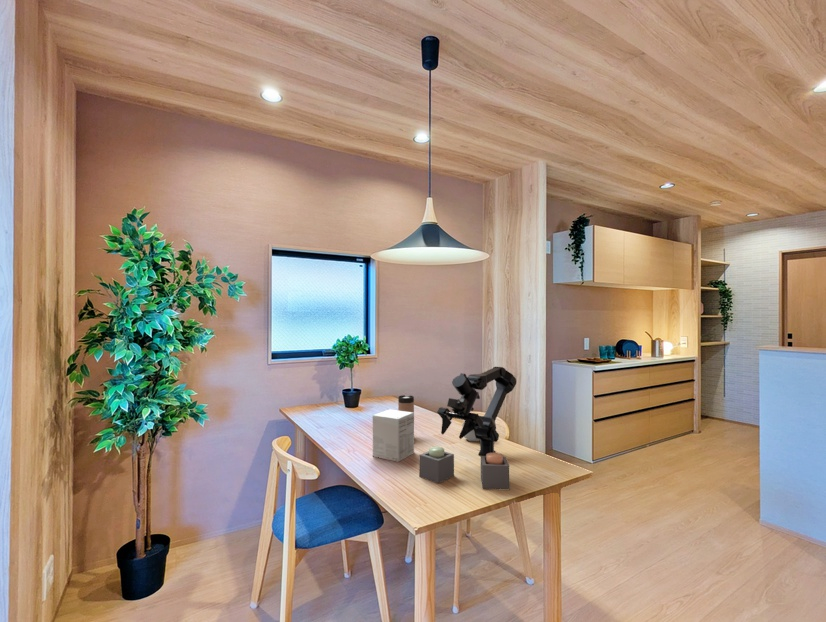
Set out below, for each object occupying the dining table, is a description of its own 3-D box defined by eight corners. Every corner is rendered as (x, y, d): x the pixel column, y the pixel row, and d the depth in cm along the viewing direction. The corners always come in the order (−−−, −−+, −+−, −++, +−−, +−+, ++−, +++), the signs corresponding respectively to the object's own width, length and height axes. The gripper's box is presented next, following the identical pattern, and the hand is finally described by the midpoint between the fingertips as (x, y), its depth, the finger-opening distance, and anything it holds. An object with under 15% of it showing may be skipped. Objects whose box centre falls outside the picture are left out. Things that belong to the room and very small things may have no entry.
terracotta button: (485, 460, 146) (485, 452, 146) (501, 461, 145) (501, 452, 145) (487, 466, 140) (486, 457, 140) (503, 467, 140) (503, 458, 140)
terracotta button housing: (480, 478, 148) (480, 456, 148) (506, 479, 147) (505, 456, 147) (482, 488, 139) (482, 465, 139) (509, 489, 138) (509, 466, 138)
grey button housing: (435, 469, 156) (435, 448, 156) (454, 476, 150) (453, 454, 150) (419, 476, 150) (419, 454, 150) (438, 483, 143) (438, 460, 143)
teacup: (480, 444, 187) (480, 427, 187) (458, 441, 192) (458, 424, 192) (490, 436, 199) (490, 420, 199) (469, 433, 204) (469, 417, 204)
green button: (435, 453, 154) (435, 445, 154) (447, 457, 150) (447, 448, 150) (425, 457, 150) (425, 449, 150) (437, 461, 146) (437, 452, 146)
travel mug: (404, 441, 192) (404, 398, 192) (395, 437, 198) (395, 396, 198) (417, 438, 196) (417, 396, 196) (408, 434, 202) (407, 394, 203)
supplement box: (415, 452, 176) (414, 412, 176) (398, 462, 164) (398, 418, 165) (389, 448, 183) (389, 408, 183) (371, 456, 171) (371, 414, 171)
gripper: (439, 387, 166) (422, 420, 157) (478, 392, 153) (461, 429, 145) (451, 402, 171) (435, 435, 163) (489, 409, 159) (474, 445, 151)
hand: (450, 436), depth 155 cm, fingers open, 8 cm apart
